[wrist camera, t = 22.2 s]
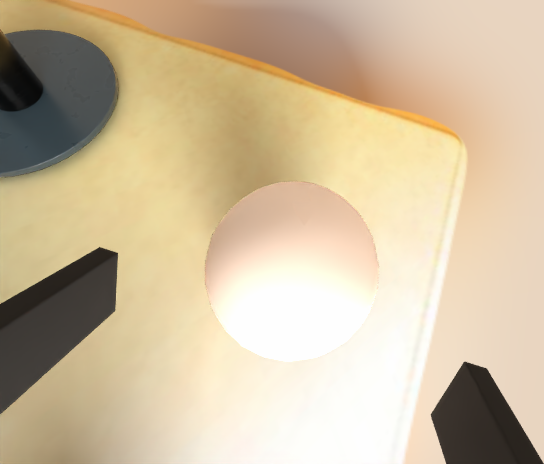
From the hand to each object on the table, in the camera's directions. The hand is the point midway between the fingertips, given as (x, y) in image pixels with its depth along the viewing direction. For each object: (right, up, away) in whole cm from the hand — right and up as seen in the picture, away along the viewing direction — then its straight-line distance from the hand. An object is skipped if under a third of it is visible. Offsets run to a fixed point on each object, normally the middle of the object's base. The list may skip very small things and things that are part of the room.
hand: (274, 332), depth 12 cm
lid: (-21, +15, +15) cm, 30 cm away
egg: (+1, -1, +10) cm, 10 cm away
